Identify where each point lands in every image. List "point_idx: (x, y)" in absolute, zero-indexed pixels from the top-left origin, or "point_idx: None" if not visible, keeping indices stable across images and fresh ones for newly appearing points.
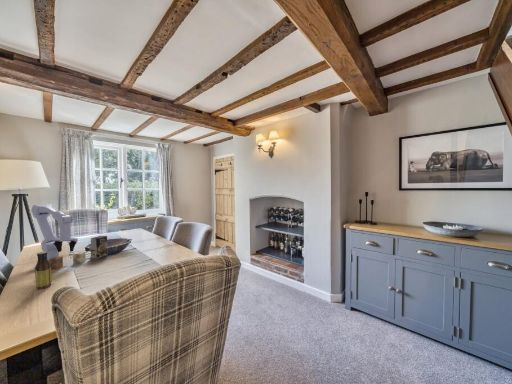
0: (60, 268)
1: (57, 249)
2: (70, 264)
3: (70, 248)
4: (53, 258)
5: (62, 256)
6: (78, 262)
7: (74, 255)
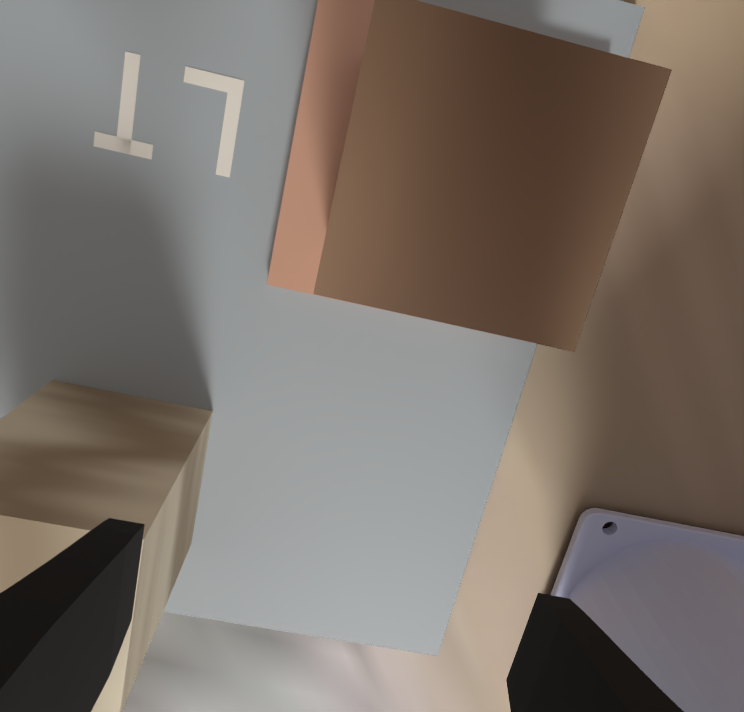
0: (316, 102)
1: (631, 668)
2: (248, 379)
3: (38, 591)
4: (528, 113)
5: (316, 287)
6: (92, 399)
7: (117, 507)
